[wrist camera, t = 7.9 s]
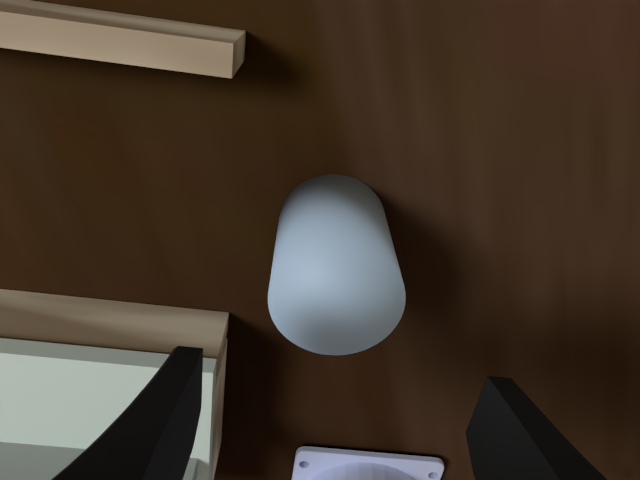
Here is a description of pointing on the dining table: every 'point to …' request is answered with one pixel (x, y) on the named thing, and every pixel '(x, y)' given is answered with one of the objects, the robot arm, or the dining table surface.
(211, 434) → the lid
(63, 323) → the frame
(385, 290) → the pale blue cylinder
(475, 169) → the dining table surface
